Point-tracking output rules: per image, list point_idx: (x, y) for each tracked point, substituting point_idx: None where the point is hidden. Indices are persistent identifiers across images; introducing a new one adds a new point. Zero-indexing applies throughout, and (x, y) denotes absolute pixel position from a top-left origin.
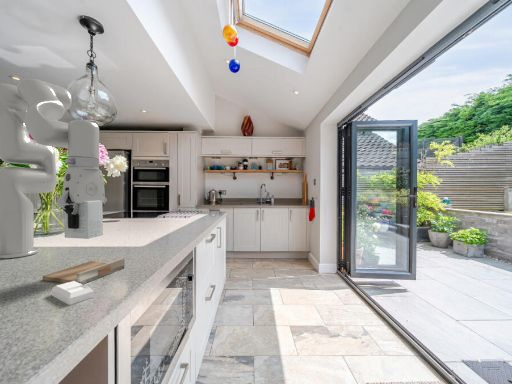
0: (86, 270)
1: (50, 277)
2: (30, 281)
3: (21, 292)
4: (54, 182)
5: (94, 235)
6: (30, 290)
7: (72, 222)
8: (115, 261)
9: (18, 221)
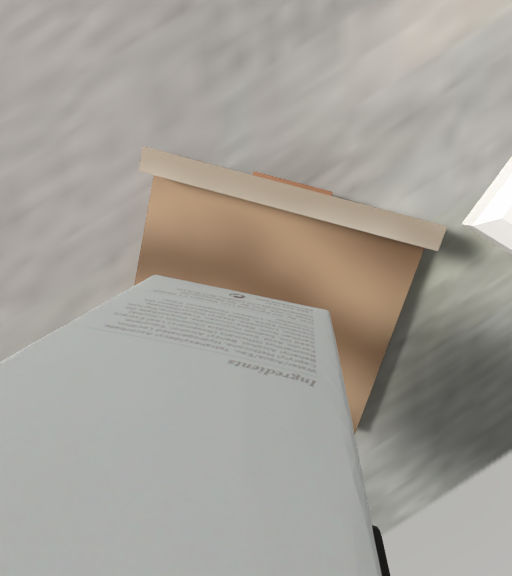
0: (386, 230)
1: (368, 394)
2: (370, 457)
3: (495, 407)
4: None
5: (256, 296)
6: (475, 389)
7: (379, 554)
8: (208, 167)
9: None
